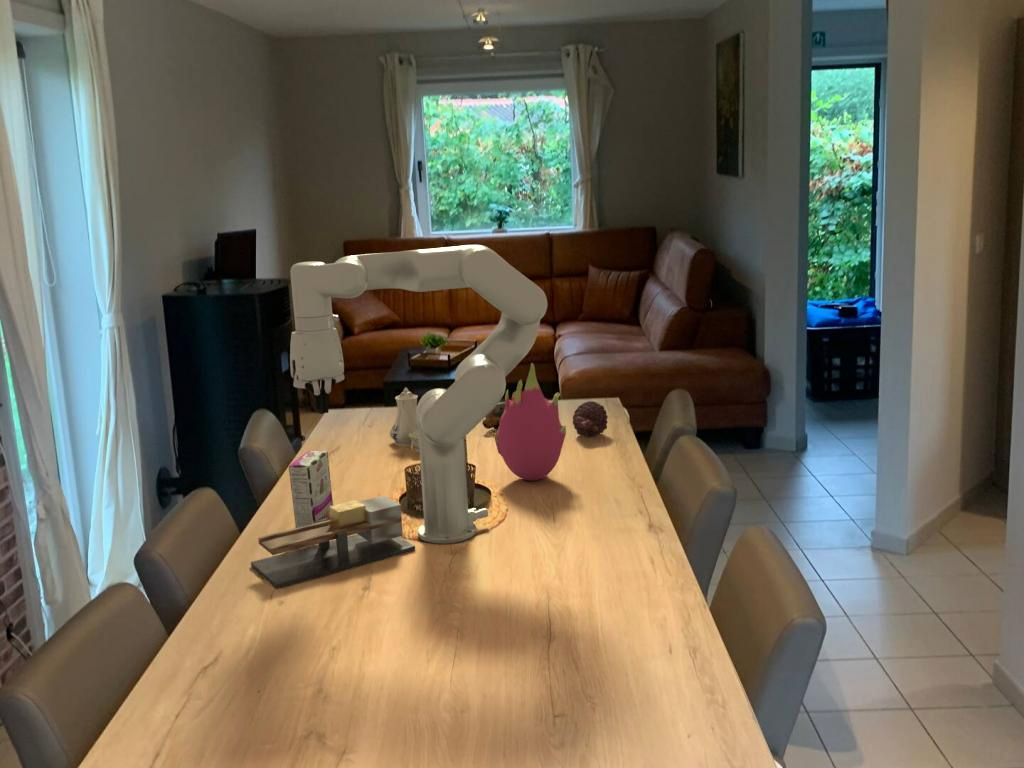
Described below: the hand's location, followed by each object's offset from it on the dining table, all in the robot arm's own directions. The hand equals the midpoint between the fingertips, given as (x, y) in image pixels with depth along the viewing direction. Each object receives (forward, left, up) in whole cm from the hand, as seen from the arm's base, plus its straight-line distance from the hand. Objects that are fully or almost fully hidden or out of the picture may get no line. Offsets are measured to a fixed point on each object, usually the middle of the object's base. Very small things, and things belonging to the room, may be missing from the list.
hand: (321, 412), depth 207 cm
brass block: (-1, +7, -23) cm, 24 cm away
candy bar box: (-1, -12, -29) cm, 32 cm away
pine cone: (-92, -29, -29) cm, 101 cm away
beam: (+3, +7, -26) cm, 28 cm away
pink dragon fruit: (-57, -8, -29) cm, 65 cm away
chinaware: (-52, -57, -30) cm, 82 cm away
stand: (+3, +7, -29) cm, 30 cm away
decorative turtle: (-78, -52, -29) cm, 98 cm away
